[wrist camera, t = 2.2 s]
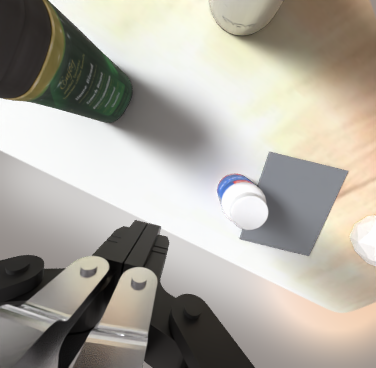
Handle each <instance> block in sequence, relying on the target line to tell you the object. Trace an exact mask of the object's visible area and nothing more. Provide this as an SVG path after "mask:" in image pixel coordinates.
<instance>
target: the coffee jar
mask: <svg viewBox="0 0 376 368" xmlns="http://www.w3.org/2000/svg"><path fill="white" fill-rule="evenodd" d="M131 97H132V85H131V82H130V80H129V79H128V77H127V76H126V75H125V74H124V73H123V72H122V71H121V70H120V69H119V68H118V67H117V66H116V65H115V64H114V63H113V62H112V61H111V60H110V59H109V58H108V57H107V56H106V55H105V54H103V53H102V52H101V51H100V50H99V49H98V48H97V47H96V46H95V45H94V44H93V43H92V42H91V41H90V40H89V39H88V38H87V37H86V36H85V35H84V34H83V33H82V32H81V31H80V30H79V29H78V28H77V27H76V26H75V25H74V24H73V23H72V22H71V21H69V20H68V19H67V18H66V17H65V16H64V15H63V14H62V13H61V12H60V11H59V10H58V9H57V8H56V7H55V6H54V5H53V4H51V3H50V2H49V1H48V0H0V98H3V99H8V100H15V101H27V102H32V103H36V104H41V105H44V106H48V107H52V108H56V109H59V110H63V111H67V112H70V113H74V114H78V115H81V116H84V117H88V118H91V119H94V120H98V121H102V122H107V123H110V122H114V121H116V120H118V119H119V118H120V117H121V116H122V114H123V113H124V111H125V110H126V108H127V106H128V104H129V102H130V100H131Z"/></svg>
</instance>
